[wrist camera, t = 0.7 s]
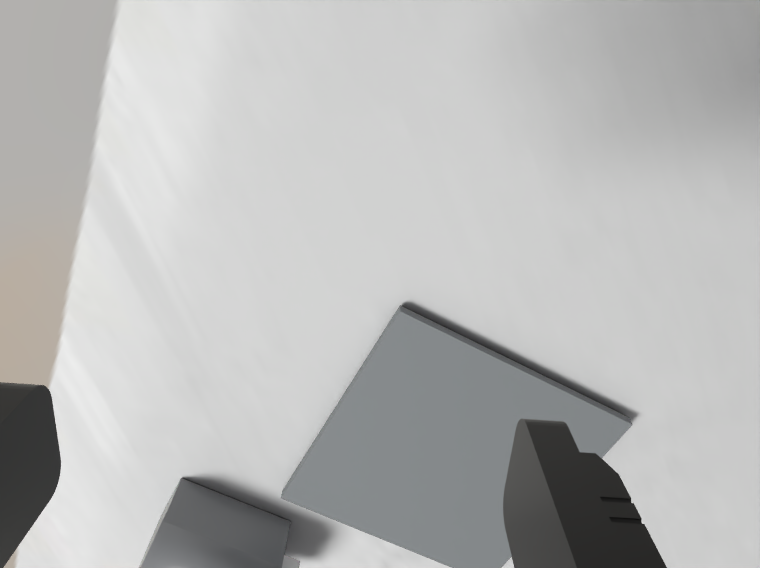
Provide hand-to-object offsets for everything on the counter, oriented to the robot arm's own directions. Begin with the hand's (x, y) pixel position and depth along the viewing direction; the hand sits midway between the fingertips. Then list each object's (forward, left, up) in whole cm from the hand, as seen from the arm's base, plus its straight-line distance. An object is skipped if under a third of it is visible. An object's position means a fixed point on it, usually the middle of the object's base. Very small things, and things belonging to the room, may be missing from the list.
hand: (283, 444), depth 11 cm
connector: (+23, +3, -19) cm, 30 cm away
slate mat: (+12, +12, -19) cm, 26 cm away
